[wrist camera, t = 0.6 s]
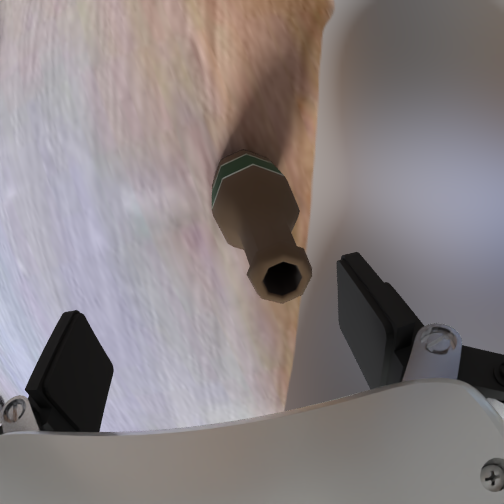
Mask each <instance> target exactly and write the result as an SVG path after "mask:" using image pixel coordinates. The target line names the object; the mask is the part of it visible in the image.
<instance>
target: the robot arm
mask: <svg viewBox="0 0 504 504" xmlns="http://www.w3.org/2000/svg"><path fill="white" fill-rule="evenodd" d="M337 282H338V310H339V311H338V313H339V325H340V329H341V331H342V333H343V335H344V337H345V339H346V340H347V343H348V345H349V347H350V348H351V350H352V352H353V355H354V357H355V359H356V361H357V363H358V365H359V367H360V369H361V371H362V373H363V375H364V377H365V379H366V381H367V383H368V385H369V387H370V389H371V390H368V391H364V392H360V393H357V394H353V395H350V396H346V397H343V398H339V399H335V400H331V401H327V402H323V403H319V404H315V405H311V406H307V407H302V408H298V409H294V410H290V411H285V412H280V413H275V414H270V415H265V416H260V417H255V418H249V419H243V420H237V421H231V422H224V423H217V424H210V425H202V426H194V427H185V428H175V429H163V430H149V431H130V432H99V431H100V426H101V421H102V417H103V413H104V408H105V404H106V400H107V396H108V392H109V388H110V384H111V380H112V376H113V371H114V370H113V365H112V363H111V361H110V359H109V358H108V356H107V354H106V353H105V351H104V349H103V348H102V346H101V344H100V343H99V341H98V339H97V337H96V336H95V334H94V332H93V330H92V329H91V327H90V325H89V323H88V321H87V319H86V317H85V316H84V314H82V313H80V312H79V311H77V310H75V311H69V312H64V313H63V314H62V316H61V318H60V320H59V321H58V323H57V325H56V327H55V329H54V331H53V333H52V334H51V336H50V338H49V340H48V342H47V344H46V346H45V348H44V350H43V352H42V354H41V356H40V358H39V360H38V362H37V364H36V366H35V368H34V371H33V373H32V375H31V377H30V379H29V381H28V384H27V386H26V388H25V391H26V392H27V393H28V394H29V397H28V399H27V398H26V397H25V396H21V395H19V396H15V397H13V398H11V399H10V400H9V401H7V402H6V404H5V405H4V406H3V408H2V410H1V414H0V420H1V424H2V425H1V426H0V504H504V355H502V354H498V353H493V352H489V351H485V350H480V349H476V348H472V347H467V346H463V345H462V338H461V336H460V334H459V333H458V332H457V331H456V330H455V329H454V328H452V327H450V326H448V325H445V324H438V323H434V324H428V325H426V326H424V325H423V324H422V323H421V321H420V320H419V319H418V318H417V316H416V315H415V314H414V312H413V311H412V310H411V309H410V308H409V306H408V305H407V304H406V303H405V301H404V300H403V299H402V298H401V296H400V295H399V294H398V293H397V292H396V290H395V289H394V288H393V287H392V286H391V285H390V284H389V283H387V282H385V283H384V282H383V281H382V280H381V279H380V277H379V276H378V275H377V274H376V273H375V272H374V270H373V269H372V268H371V267H370V265H369V264H368V263H367V262H366V261H365V260H364V258H363V257H362V256H361V255H360V254H359V253H358V252H355V253H350V254H346V255H342V257H341V260H339V261H337Z"/></svg>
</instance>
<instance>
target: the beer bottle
mask: <svg viewBox="0 0 504 504" xmlns="http://www.w3.org/2000/svg"><path fill="white" fill-rule="evenodd" d="M299 212H300V210H299V208H298V205H297V203H296V200H295V198H294V196H293V193H292V191H291V188H290V186H289V184H288V181H287V180H286V178H285V176H284V175H283V174H282V173H281V172H280V171H279V170H278V169H277V168H276V167H275V166H274V165H273V164H272V162H271V161H270V160H269V159H267V158H265V157H263V156H260V155H257V154H254V153H251V152H249V151H246V150H241V151H239V152H237V153H234V154H232V155H230V156H228V157H226V158H224V159H222V160H221V161H220V164H219V166H218V169H217V172H216V175H215V178H214V180H213V184H212V213H213V216H214V218H215V220H216V222H217V224H218V226H219V228H220V230H221V231H222V233H223V235H224V237H225V239H226V241H227V242H228V244H230V245H231V246H233V247H236V248H239V249H243V250H245V253H246V256H247V259H248V262H249V264H250V268H249V270H248V272H247V276H248V278H249V279H250V281H251V283H252V285H253V287H254V289H255V290H256V292H257V294H258V295H259V296H260V297H261V298H262V299H265V300H269V301H273V302H277V303H281V304H283V303H285V302H287V301H289V300H292V299H294V298H296V297H298V296H301V295H303V292H304V291H305V289H306V287H307V285H308V283H309V281H310V279H311V277H312V268H311V265H310V263H309V260H308V258H307V255H306V253H305V251H304V248H301V247H298V246H296V243H295V241H294V238H293V236H292V234H291V232H292V229H293V227H294V225H295V223H296V220H297V218H298V215H299Z"/></svg>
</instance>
